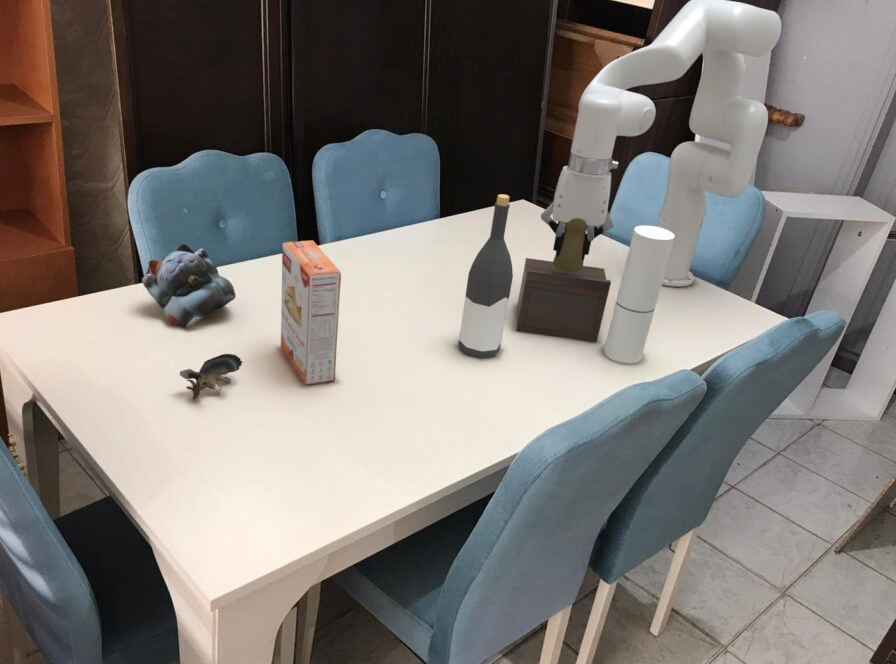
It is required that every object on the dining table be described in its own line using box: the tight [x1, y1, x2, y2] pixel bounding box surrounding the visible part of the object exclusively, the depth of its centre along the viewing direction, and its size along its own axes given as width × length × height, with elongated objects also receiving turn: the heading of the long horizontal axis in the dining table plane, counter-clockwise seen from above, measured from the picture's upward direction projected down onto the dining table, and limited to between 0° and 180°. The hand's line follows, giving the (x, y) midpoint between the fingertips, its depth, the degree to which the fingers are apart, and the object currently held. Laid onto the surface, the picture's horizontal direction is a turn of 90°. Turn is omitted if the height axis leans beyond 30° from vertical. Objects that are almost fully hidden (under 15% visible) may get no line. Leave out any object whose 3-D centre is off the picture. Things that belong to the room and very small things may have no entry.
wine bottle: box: [458, 193, 514, 359], centre depth 153 cm, size 8×8×30 cm
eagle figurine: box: [179, 353, 243, 401], centre depth 138 cm, size 8×7×9 cm
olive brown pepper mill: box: [552, 218, 589, 272], centre depth 164 cm, size 6×6×11 cm
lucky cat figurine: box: [141, 243, 237, 329], centre depth 161 cm, size 15×12×14 cm
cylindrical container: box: [603, 224, 675, 365], centre depth 157 cm, size 7×7×25 cm
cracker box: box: [280, 239, 342, 386], centre depth 144 cm, size 14×6×21 cm, turn 23°
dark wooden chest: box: [515, 257, 612, 343], centre depth 170 cm, size 12×16×13 cm
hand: (569, 254), depth 166 cm, fingers closed on olive brown pepper mill, 4 cm apart
